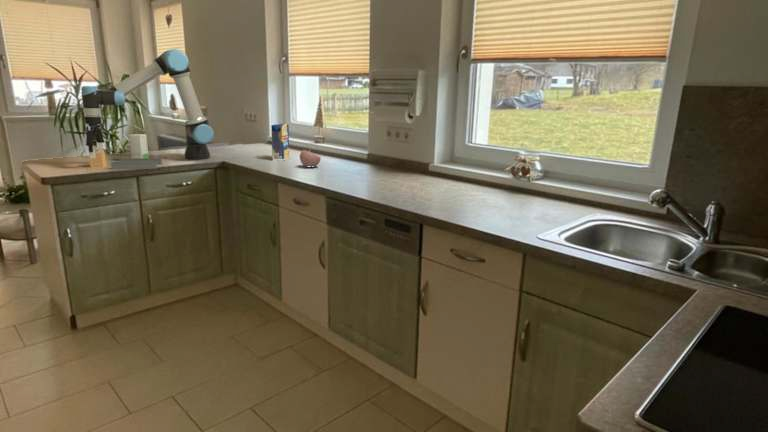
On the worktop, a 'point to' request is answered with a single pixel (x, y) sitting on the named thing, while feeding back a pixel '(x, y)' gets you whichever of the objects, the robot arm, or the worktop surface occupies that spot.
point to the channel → (136, 163)
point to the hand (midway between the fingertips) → (96, 156)
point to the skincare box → (138, 146)
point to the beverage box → (280, 141)
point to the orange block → (98, 159)
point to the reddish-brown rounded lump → (309, 158)
